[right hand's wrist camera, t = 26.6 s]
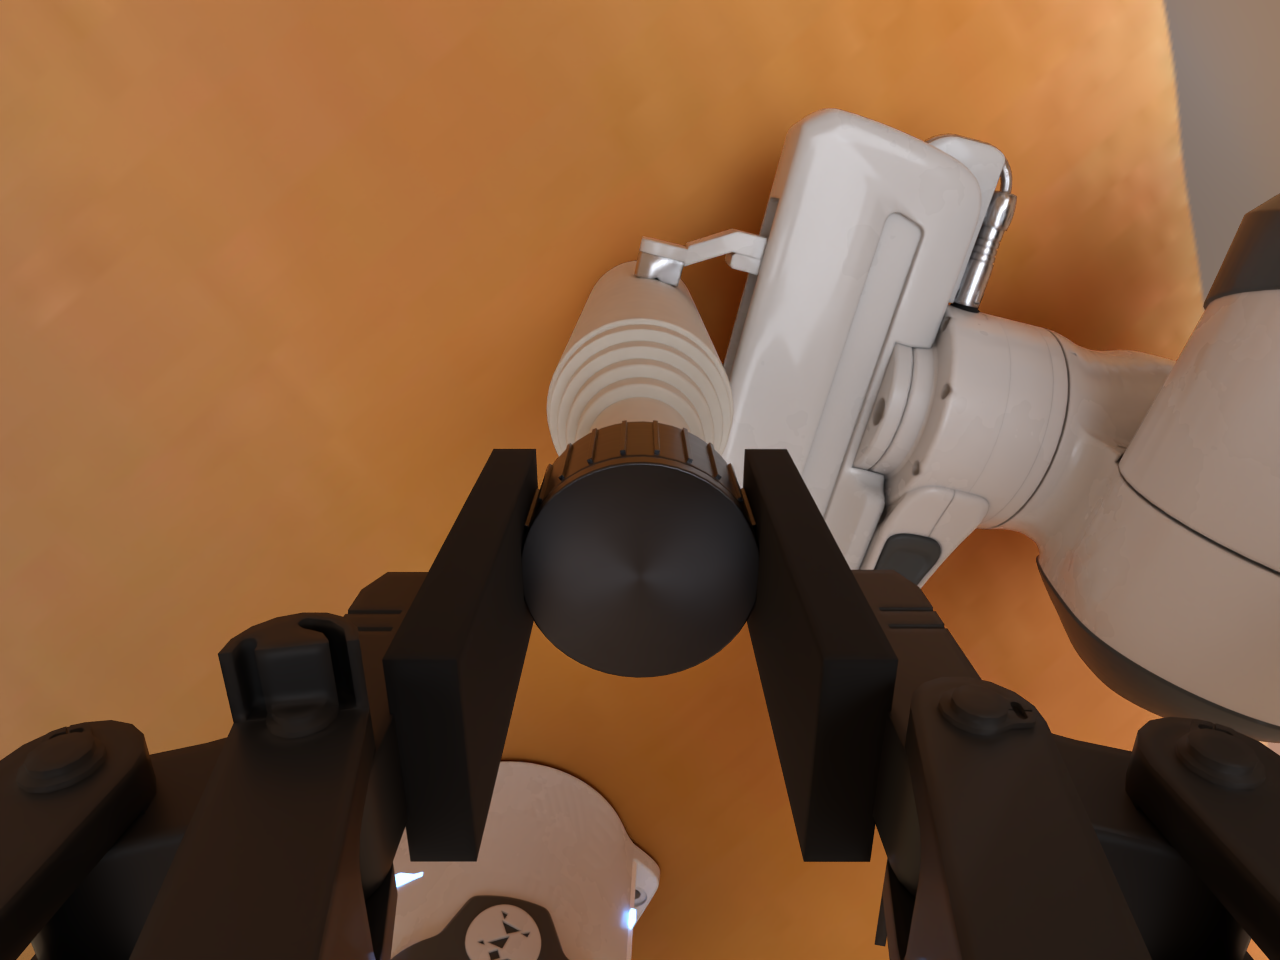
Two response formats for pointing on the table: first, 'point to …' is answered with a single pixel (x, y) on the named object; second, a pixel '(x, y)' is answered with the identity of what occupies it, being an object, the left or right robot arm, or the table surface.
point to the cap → (640, 551)
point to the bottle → (639, 364)
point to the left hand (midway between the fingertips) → (618, 338)
